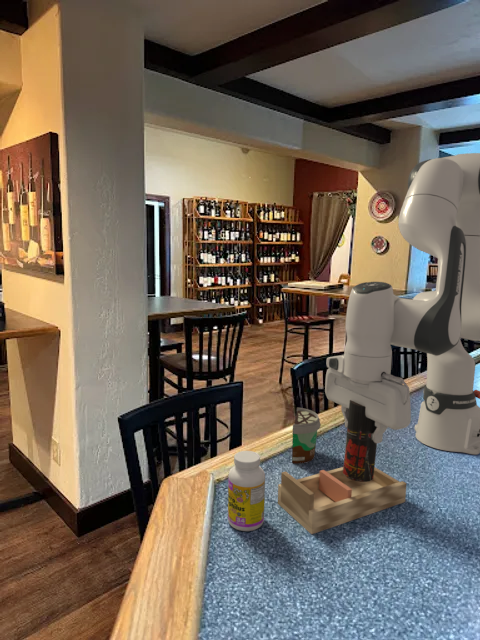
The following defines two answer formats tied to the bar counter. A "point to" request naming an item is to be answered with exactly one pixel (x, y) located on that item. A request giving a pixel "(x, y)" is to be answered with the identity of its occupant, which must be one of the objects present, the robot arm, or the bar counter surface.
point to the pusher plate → (333, 487)
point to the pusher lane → (326, 513)
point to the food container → (304, 436)
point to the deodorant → (359, 445)
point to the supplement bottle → (246, 492)
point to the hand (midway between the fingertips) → (362, 434)
